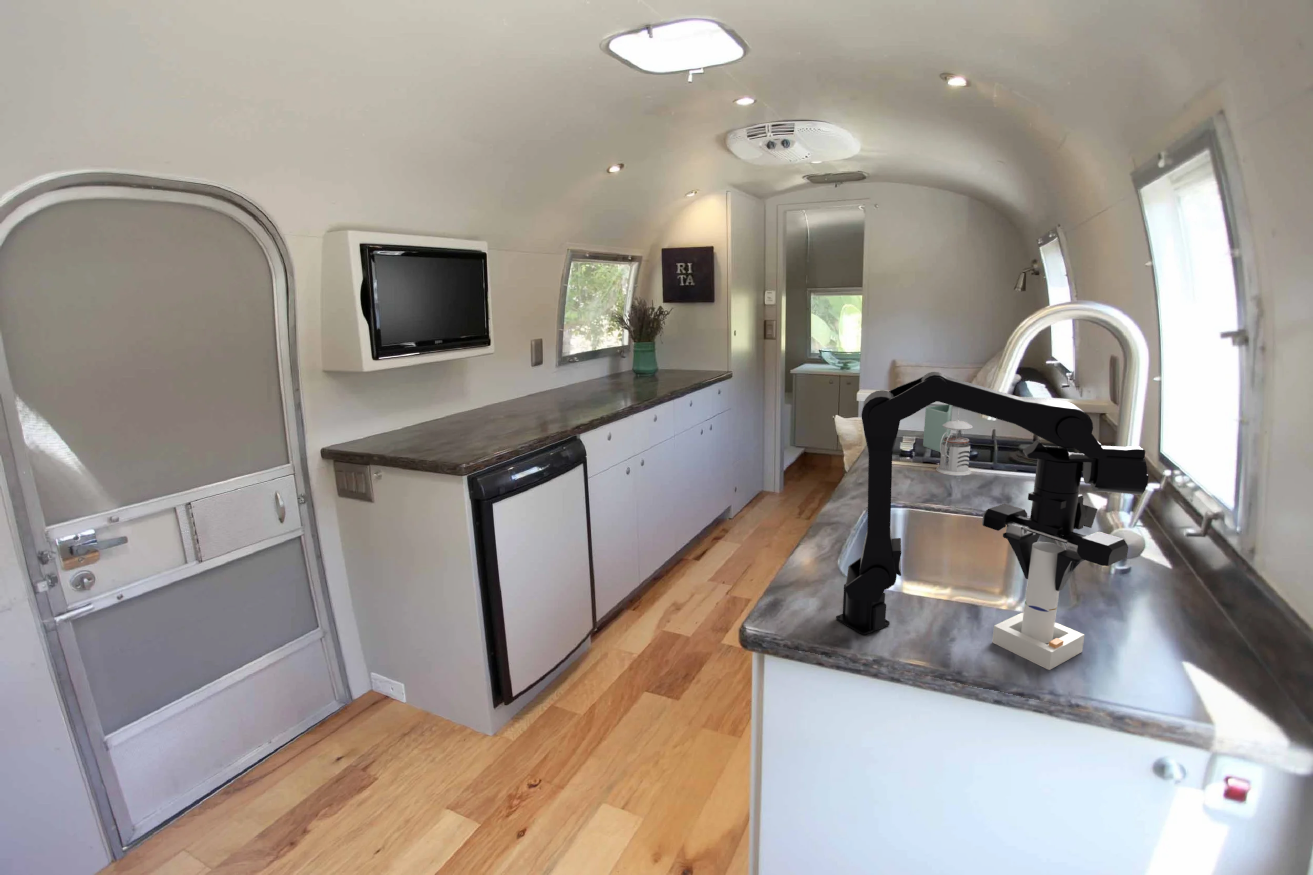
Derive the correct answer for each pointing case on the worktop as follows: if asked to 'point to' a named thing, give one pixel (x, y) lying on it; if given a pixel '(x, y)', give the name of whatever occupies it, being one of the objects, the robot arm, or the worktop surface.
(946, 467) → the french press
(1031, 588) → the tube
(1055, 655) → the white hollow square block
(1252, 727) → the worktop surface
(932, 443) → the planter
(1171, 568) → the worktop surface
